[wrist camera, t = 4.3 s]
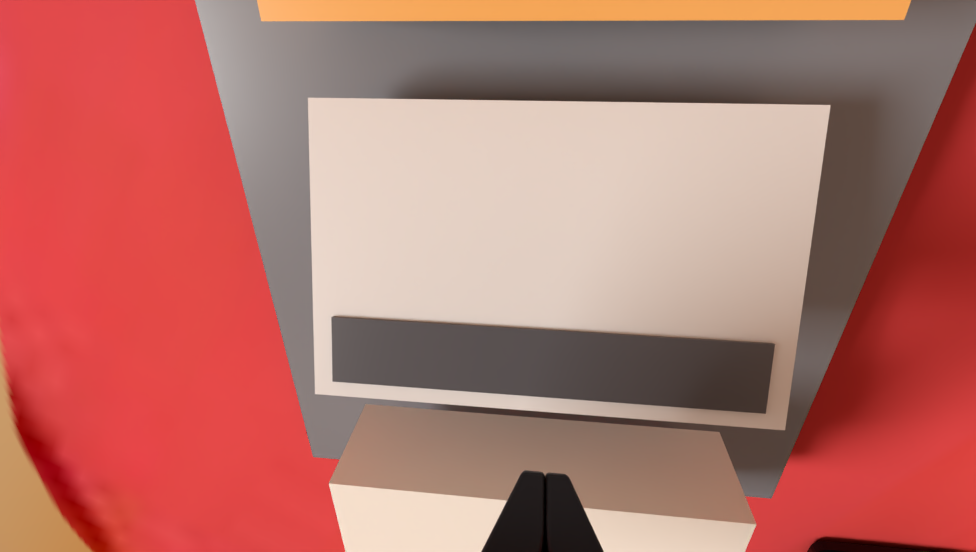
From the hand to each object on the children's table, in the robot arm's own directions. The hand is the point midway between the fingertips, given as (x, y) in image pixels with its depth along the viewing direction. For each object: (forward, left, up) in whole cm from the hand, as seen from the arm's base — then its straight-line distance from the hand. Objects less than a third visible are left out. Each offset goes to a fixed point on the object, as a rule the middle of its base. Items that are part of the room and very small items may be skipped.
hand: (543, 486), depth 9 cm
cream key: (0, +5, -5) cm, 8 cm away
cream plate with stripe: (0, -3, -4) cm, 5 cm away
